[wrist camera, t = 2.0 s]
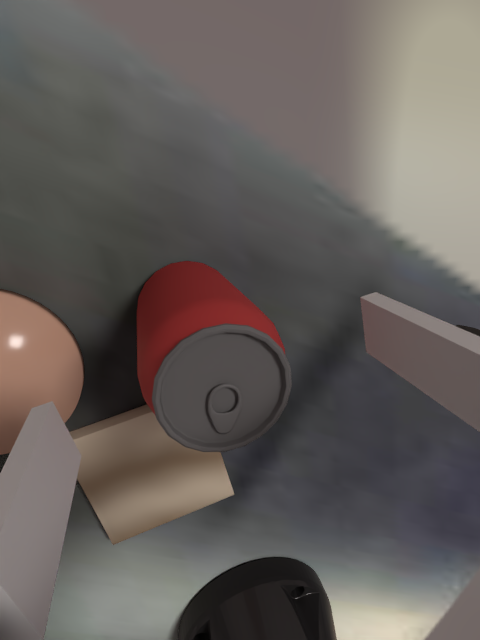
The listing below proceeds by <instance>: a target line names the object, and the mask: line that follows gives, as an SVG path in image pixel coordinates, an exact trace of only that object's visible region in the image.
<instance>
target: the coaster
mask: <svg viewBox="0 0 480 640" xmlns="http://www.w3.org/2000/svg"><path fill="white" fill-rule="evenodd" d="M84 375H85V370H84V360H83V355H82V352H81V349H80V346H79V344H78V342H77V340H76V338H75V336H74V335H73V333H72V332H71V330H70V329H69V328H68V326H67V325H66V324H65V323H64V322H63V321H62V320H61V319H60V318H59V317H58V316H57V315H56V314H54V313H53V312H52V311H51V310H50V309H48V308H46V307H45V306H43V305H42V304H40V303H39V302H37V301H35V300H33V299H30V298H28V297H26V296H24V295H21V294H18V293H15V292H12V291H7V290H3V289H0V455H2V454H7V453H10V452H11V450H12V448H13V446H14V444H15V442H16V440H17V438H18V436H19V433H20V431H21V429H22V427H23V425H24V423H25V421H26V419H27V417H28V415H29V413H30V411H31V409H32V408H33V407H36V406H39V405H42V404H45V403H48V402H51V401H53V403H54V405H55V407H56V409H57V410H58V412H59V414H60V416H61V418H62V420H63V422H64V424H65V422H66V421H67V420H68V419H69V418H70V416H71V414H72V413H73V411H74V410H75V408H76V406H77V403H78V401H79V398H80V395H81V391H82V387H83V383H84Z"/></svg>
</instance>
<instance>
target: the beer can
mask: <svg viewBox="0 0 480 640" xmlns="http://www.w3.org/2000/svg"><path fill="white" fill-rule="evenodd" d="M137 376H138V380H139V383H140V387H141V391H142V395H143V398H144V399H145V401H146V403H147V405H148V406H149V407H150V409H151V410H152V412H153V413H154V415H155V416H156V419H157V421H158V422H159V424H160V425H161V427H162V428H163V429H164V431H165V432H166V434H167V435H168V436H169V437H171V438H172V439H174V440H175V441H176V442H178V443H179V444H181V445H182V446H184V447H187V448H190V449H194V450H198V451H201V452H225V451H229V450H232V449H236V448H239V447H243V446H245V445H247V444H249V443H250V442H252V441H254V440H255V439H257V438H259V437H261V436H262V435H263V434H264V433H265V432H266V431H267V430H268V429H269V428H270V427H271V426H272V425H273V424H274V423H276V422H277V420H278V419H279V417H280V415H281V413H282V412H283V410H284V408H285V406H286V405H287V402H288V398H289V394H290V390H291V386H292V381H291V370H290V364H289V362H288V360H287V358H286V356H285V348H284V346H283V343H282V341H281V339H280V337H279V334H278V332H277V330H276V328H275V326H274V324H273V322H272V321H271V320H270V319H269V318H268V317H267V316H266V315H265V314H264V313H263V312H262V311H261V310H260V309H259V308H258V307H256V306H255V305H254V304H253V303H252V302H251V301H250V300H249V299H248V298H247V297H245V296H244V295H243V294H242V293H241V292H240V291H239V290H238V289H237V288H236V287H234V286H233V285H232V284H231V283H230V282H229V281H228V280H227V279H226V278H225V277H223V276H222V275H221V274H220V273H219V272H218V271H217V270H215V269H213V268H211V267H209V266H207V265H205V264H203V263H198V262H191V261H183V262H178V263H172V264H169V265H167V266H165V267H164V268H162V269H160V270H158V271H156V272H155V273H154V274H153V275H152V276H151V277H150V278H149V279H148V280H147V282H146V283H145V284H144V286H143V289H142V291H141V293H140V295H139V297H138V306H137Z"/></svg>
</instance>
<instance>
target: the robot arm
mask: <svg viewBox="0 0 480 640" xmlns="http://www.w3.org/2000/svg"><path fill="white" fill-rule="evenodd" d="M360 299H361V308H362V317H363V326H364V335H365V344H366V352H367V353H369V354H370V355H371V356H373V357H374V358H376V359H377V360H379V361H380V362H381V363H383V364H384V365H386V366H387V367H388V368H390V369H391V370H393V371H394V372H396V373H397V374H398V375H400V376H401V377H403V378H404V379H405V380H407V381H408V382H410V383H411V384H413V385H414V386H415V387H417V388H418V389H420V390H421V391H422V392H424V393H425V394H427V395H428V396H430V397H431V398H432V399H434V400H435V401H437V402H438V403H439V404H441V405H442V406H444V407H445V408H447V409H448V410H449V411H451V412H452V413H454V414H455V415H456V416H458V417H459V418H461V419H462V420H464V421H465V422H466V423H468V424H469V425H471V426H472V427H473V428H475V429H476V430H478V431H479V432H480V330H478V329H476V328H472V327H467V326H461V325H456V326H454V325H451V324H449V323H447V322H444V321H442V320H440V319H437V318H435V317H433V316H430V315H428V314H426V313H423V312H421V311H419V310H416V309H414V308H412V307H409V306H407V305H405V304H402V303H400V302H398V301H395V300H393V299H391V298H388V297H386V296H384V295H381V294H379V293H377V292H375V293H372V294H369V295H366V296H363V297H360ZM80 461H81V454H80V452H79V450H78V448H77V446H76V444H75V442H74V441H73V439H72V437H71V435H70V433H69V431H68V429H67V427H66V425H65V424H64V422H63V420H62V418H61V416H60V414H59V412H58V410H57V409H56V407H55V405H54V403H53V401H51V402H48V403H45V404H42V405H39V406H36V407H33V408H32V409H31V411H30V413H29V415H28V417H27V419H26V421H25V423H24V425H23V427H22V429H21V431H20V433H19V436H18V438H17V440H16V442H15V444H14V446H13V448H12V450H11V452H10V454H9V456H8V458H7V460H6V463H5V465H4V467H3V469H2V471H1V473H0V640H43V639H44V634H45V629H46V625H47V620H48V615H49V610H50V605H51V600H52V596H53V591H54V586H55V581H56V576H57V572H58V567H59V562H60V557H61V552H62V547H63V543H64V538H65V533H66V528H67V523H68V519H69V514H70V509H71V504H72V499H73V495H74V490H75V485H76V480H77V475H78V470H79V466H80ZM178 640H337V639H336V633H335V627H334V622H333V616H332V611H331V605H330V602H329V599H328V596H327V594H326V592H325V590H324V588H323V586H322V584H321V581H320V579H319V577H318V576H317V574H316V573H315V571H314V570H313V569H312V568H311V567H309V566H308V565H306V564H304V563H303V562H300V561H297V560H294V559H288V558H268V559H261V560H257V561H253V562H250V563H246V564H244V565H241V566H239V567H236V568H234V569H232V570H230V571H228V572H226V573H225V574H223V575H221V576H220V577H218V578H217V579H215V580H214V581H212V582H211V583H210V584H209V585H207V586H206V587H205V588H204V589H203V590H202V591H201V592H200V593H199V594H198V595H197V596H196V597H195V598H194V599H193V601H192V602H191V603H190V605H189V606H188V608H187V609H186V611H185V613H184V615H183V617H182V619H181V622H180V626H179V631H178Z"/></svg>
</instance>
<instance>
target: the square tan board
mask: <svg viewBox="0 0 480 640" xmlns="http://www.w3.org/2000/svg"><path fill="white" fill-rule="evenodd" d="M69 433H70V435H71V437H72V439H73V441H74V442H75V444H76V446H77V448H78V450H79V452H80V454H81V461H80V466H79V470H78V475H77V479H78V481H79V483H80V485H81V487H82V489H83V490H84V492H85V494H86V496H87V498H88V500H89V501H90V503H91V505H92V507H93V509H94V511H95V512H96V514H97V516H98V518H99V520H100V522H101V523H102V525H103V527H104V529H105V531H106V533H107V534H108V536H109V538H110V540H111V542H112V544H113V545H114V544H116V543H119V542H121V541H123V540H126V539H128V538H131V537H133V536H135V535H138V534H140V533H143V532H145V531H148V530H150V529H152V528H155V527H157V526H160V525H162V524H164V523H167V522H169V521H172V520H174V519H176V518H179V517H181V516H184V515H186V514H188V513H191V512H193V511H196V510H198V509H200V508H203V507H205V506H208V505H210V504H212V503H215V502H217V501H220V500H222V499H225V498H227V497H229V496H232V495H234V492H233V489H232V486H231V483H230V480H229V477H228V474H227V471H226V468H225V465H224V462H223V459H222V456H221V453H220V452H201V451H198V450H194V449H190V448H187V447H184V446H182V445H181V444H179V443H178V442H176V441H175V440H174V439H172V438H171V437H169V436H168V435H167V434H166V432H165V431H164V429H163V428H162V427H161V425H160V424H159V422H158V421H157V419H156V416H155V415H154V413H153V412H152V410H151V409H150V407H149V406H148V405H144V406H141V407H138V408H135V409H133V410H130V411H127V412H124V413H121V414H119V415H116V416H113V417H110V418H107V419H105V420H102V421H99V422H96V423H93V424H91V425H88V426H85V427H82V428H79V429H77V430H74V431H71V432H69Z"/></svg>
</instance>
